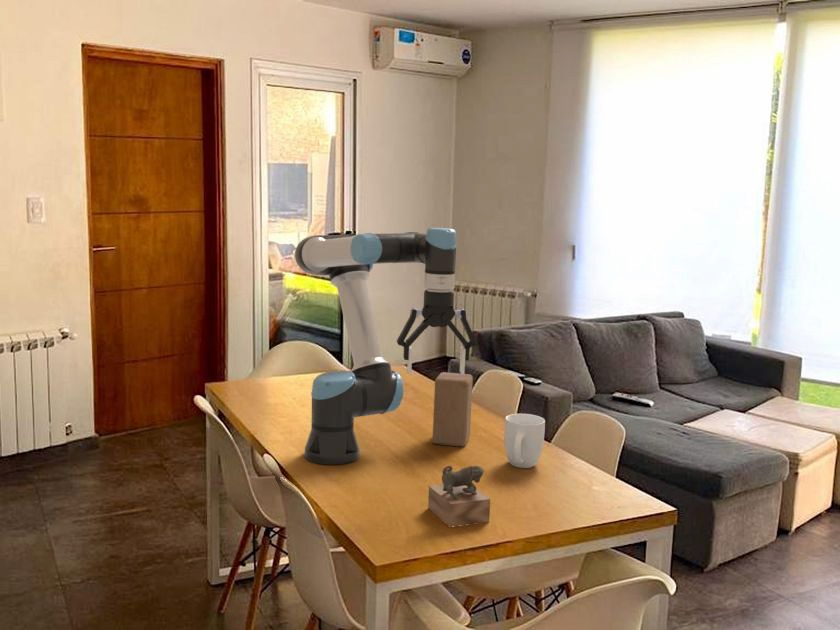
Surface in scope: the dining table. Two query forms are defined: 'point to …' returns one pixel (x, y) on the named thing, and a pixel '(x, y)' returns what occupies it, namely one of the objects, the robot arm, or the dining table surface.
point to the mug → (524, 439)
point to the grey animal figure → (461, 479)
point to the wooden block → (452, 409)
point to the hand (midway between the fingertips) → (435, 372)
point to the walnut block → (459, 506)
